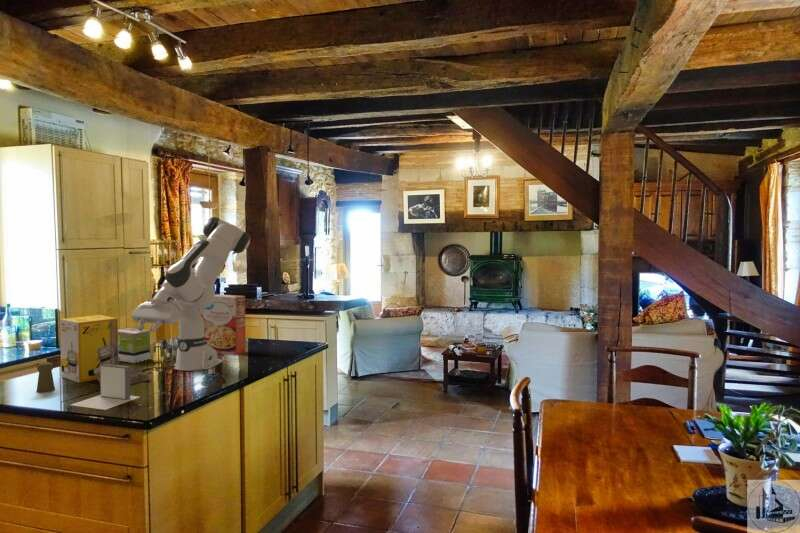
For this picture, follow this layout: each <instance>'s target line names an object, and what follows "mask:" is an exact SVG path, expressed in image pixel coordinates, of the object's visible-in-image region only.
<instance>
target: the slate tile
mask: <svg viewBox="0 0 800 533" xmlns="http://www.w3.org/2000/svg"><path fill="white" fill-rule="evenodd" d="M130 371H131V366H130V365H129V366H128V365H121V364H119V365H111V364H102V365H100V382H99V384H100V386H99V387H100V388H99V389H100V390H99V391H100V395H101V397H107V398H115V399H123V400H128V399H130V396H131V384H130Z"/></svg>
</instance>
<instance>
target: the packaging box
mask: <svg viewBox="0 0 800 533" xmlns="http://www.w3.org/2000/svg"><path fill="white" fill-rule="evenodd" d="M118 330H119V318H117V317H112V316H107V315H102V314H97V315H87V316H79V317H78V316H77V317H67V318H60V319H59V335H60V337H59V338H60V339H59V340H60V342H59V343H60V344H59V345H60V376H61V378H64V379H67V380H70V381H73V382H76V383H77V384H78V383H85V382H90V381H95V380H96V381H97V377H98V376H99V374H100V365H102V364H111V365H120V364H119V362H120V361H119V354H118Z"/></svg>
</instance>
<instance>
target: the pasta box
mask: <svg viewBox="0 0 800 533" xmlns="http://www.w3.org/2000/svg"><path fill="white" fill-rule="evenodd" d="M198 310H199V313H200V315H201V316H202V318H203V319H204V336H205V337H206V336H210V337H211V338H210V340H209V341H208V340H206V341H207V344H208V345H209V346H210V347H212V348H213V349H215V350H216V353H217V354H218V353H220V355H229V354H231V356H238V355H240V354H244V353H246V296H245V295H235V294H233V295H232V294H217V293H215V300H214V302H213V304H212V305H211V306H209V307H207V308H201V309H198ZM243 352H244V353H243ZM237 354H238V355H237Z"/></svg>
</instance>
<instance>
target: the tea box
mask: <svg viewBox="0 0 800 533" xmlns="http://www.w3.org/2000/svg"><path fill="white" fill-rule="evenodd" d="M118 354H119V362H124V363H129V364H130V363H132V364H136V362H137V363H141V362H144V360H145V361H149V360H151V330H146V329H143V331H140V330H138V329H137V328H131V327H127V328H122V329H118ZM148 359H149V360H148ZM140 361H141V362H140Z"/></svg>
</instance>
